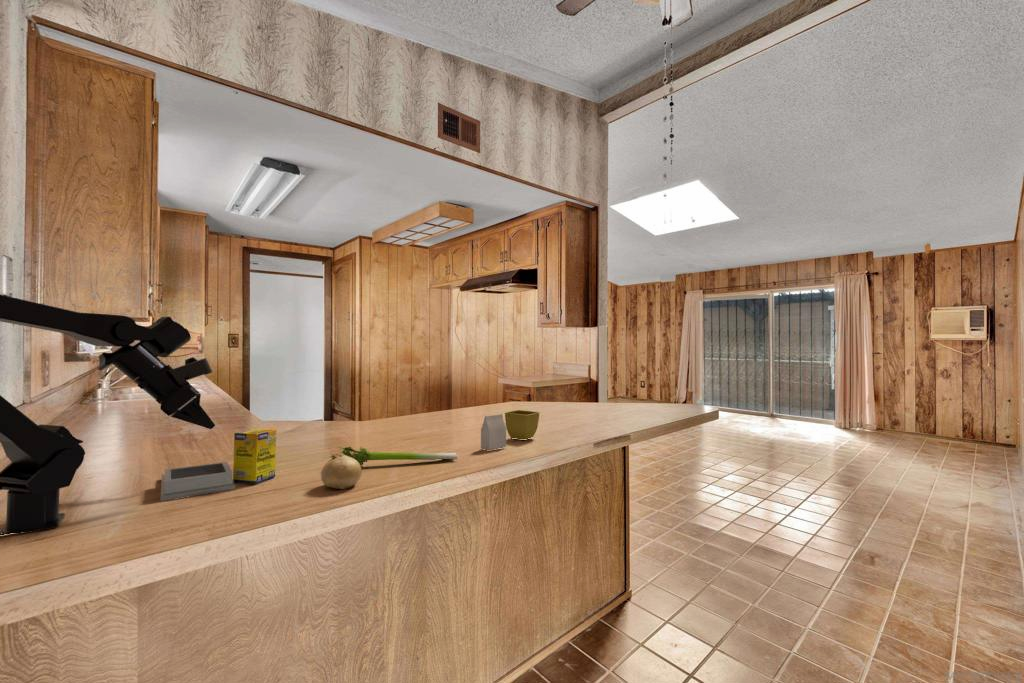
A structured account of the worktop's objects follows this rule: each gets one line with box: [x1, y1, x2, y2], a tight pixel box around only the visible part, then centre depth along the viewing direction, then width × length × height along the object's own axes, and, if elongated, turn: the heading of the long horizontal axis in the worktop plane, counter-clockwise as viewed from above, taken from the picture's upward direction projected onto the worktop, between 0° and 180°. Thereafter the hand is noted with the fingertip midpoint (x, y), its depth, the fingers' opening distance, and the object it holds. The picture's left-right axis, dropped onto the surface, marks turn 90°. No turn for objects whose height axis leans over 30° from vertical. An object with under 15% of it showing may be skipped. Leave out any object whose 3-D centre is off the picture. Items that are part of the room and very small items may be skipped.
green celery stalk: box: [338, 446, 458, 468], centre depth 111 cm, size 6×7×30 cm
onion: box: [320, 452, 363, 490], centre depth 93 cm, size 8×8×7 cm
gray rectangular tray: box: [160, 461, 236, 502], centre depth 93 cm, size 18×12×4 cm, turn 38°
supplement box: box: [232, 428, 277, 485], centre depth 97 cm, size 6×6×11 cm
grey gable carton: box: [480, 413, 507, 451], centre depth 130 cm, size 4×7×10 cm, turn 135°
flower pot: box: [504, 409, 541, 439], centre depth 144 cm, size 9×9×9 cm
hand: (211, 424), depth 92 cm, fingers open, 9 cm apart
